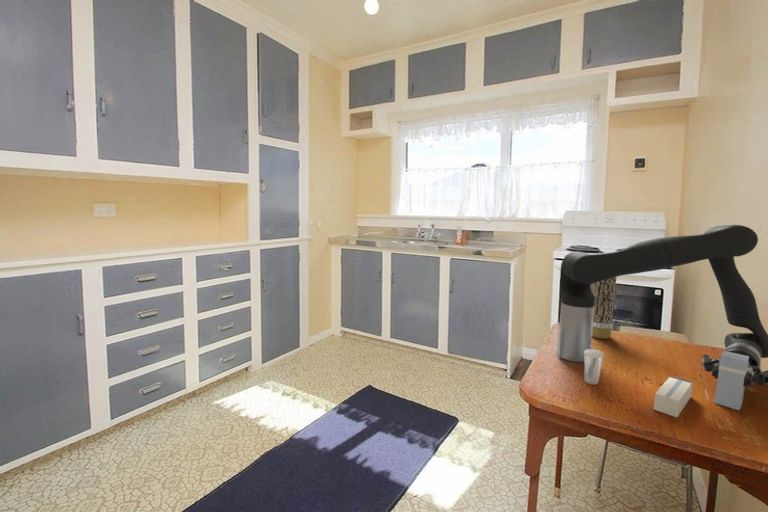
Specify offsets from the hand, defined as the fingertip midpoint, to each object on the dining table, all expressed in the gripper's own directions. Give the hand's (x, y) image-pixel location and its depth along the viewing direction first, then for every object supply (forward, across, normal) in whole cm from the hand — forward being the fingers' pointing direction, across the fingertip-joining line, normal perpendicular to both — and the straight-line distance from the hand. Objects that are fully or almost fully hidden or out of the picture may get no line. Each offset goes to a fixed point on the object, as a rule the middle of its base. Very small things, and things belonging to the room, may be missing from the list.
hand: (730, 378), depth 90 cm
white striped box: (+8, -9, +7) cm, 14 cm away
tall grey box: (-2, 0, +7) cm, 7 cm away
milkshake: (+11, -26, +7) cm, 30 cm away
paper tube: (-29, -38, +7) cm, 49 cm away
